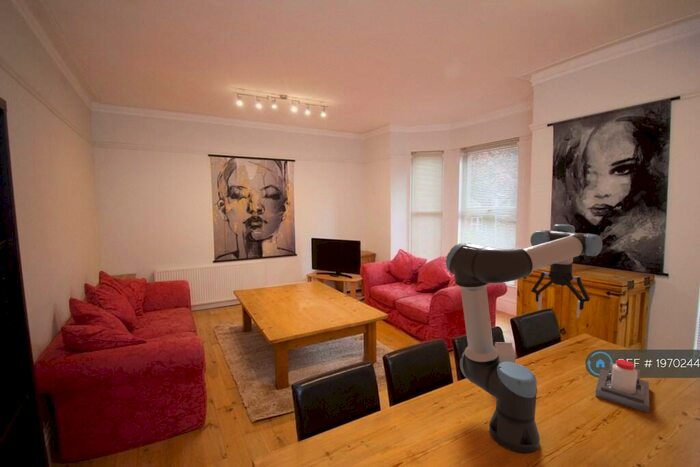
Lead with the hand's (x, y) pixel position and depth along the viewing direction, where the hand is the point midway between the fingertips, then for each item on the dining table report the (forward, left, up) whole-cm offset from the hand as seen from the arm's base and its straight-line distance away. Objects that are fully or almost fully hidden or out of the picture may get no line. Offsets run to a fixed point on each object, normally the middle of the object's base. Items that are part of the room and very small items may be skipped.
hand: (558, 313), depth 135 cm
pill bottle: (+13, -22, -30) cm, 39 cm away
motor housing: (+16, -22, -33) cm, 43 cm away
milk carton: (-12, +17, -33) cm, 39 cm away
